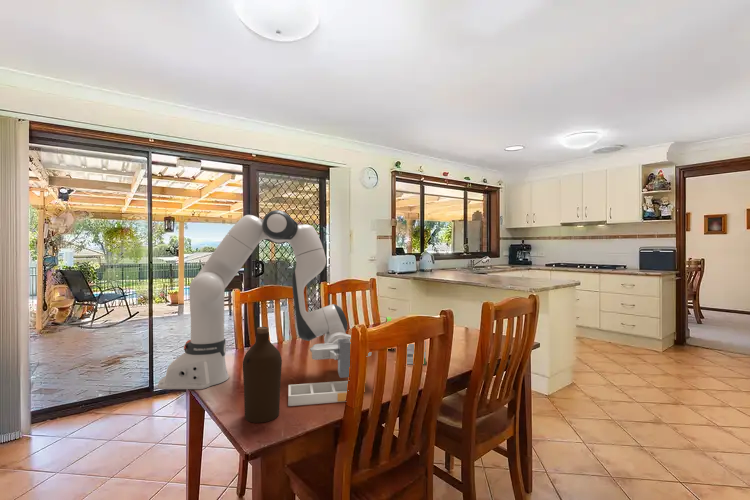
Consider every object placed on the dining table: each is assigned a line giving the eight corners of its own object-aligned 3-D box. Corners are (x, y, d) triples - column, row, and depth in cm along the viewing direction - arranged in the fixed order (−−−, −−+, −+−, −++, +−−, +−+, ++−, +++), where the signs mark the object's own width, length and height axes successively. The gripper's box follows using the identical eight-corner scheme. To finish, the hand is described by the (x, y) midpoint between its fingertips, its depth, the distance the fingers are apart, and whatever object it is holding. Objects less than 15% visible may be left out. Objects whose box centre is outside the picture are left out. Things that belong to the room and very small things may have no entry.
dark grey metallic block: (339, 377, 119) (339, 343, 119) (337, 372, 124) (337, 339, 124) (350, 376, 120) (350, 342, 120) (348, 371, 125) (348, 338, 125)
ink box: (424, 361, 160) (424, 333, 160) (425, 364, 155) (425, 336, 155) (404, 360, 160) (404, 333, 160) (405, 364, 156) (405, 335, 156)
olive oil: (275, 424, 102) (275, 332, 101) (236, 423, 102) (236, 331, 102) (285, 408, 112) (286, 324, 112) (250, 407, 113) (251, 323, 112)
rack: (288, 406, 113) (288, 396, 113) (288, 394, 123) (288, 384, 123) (357, 400, 118) (357, 391, 118) (352, 389, 128) (352, 380, 128)
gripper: (309, 338, 132) (311, 349, 119) (366, 335, 137) (375, 345, 123) (309, 356, 132) (311, 369, 119) (366, 353, 137) (375, 364, 123)
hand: (344, 357), depth 121 cm, fingers closed on dark grey metallic block, 3 cm apart
